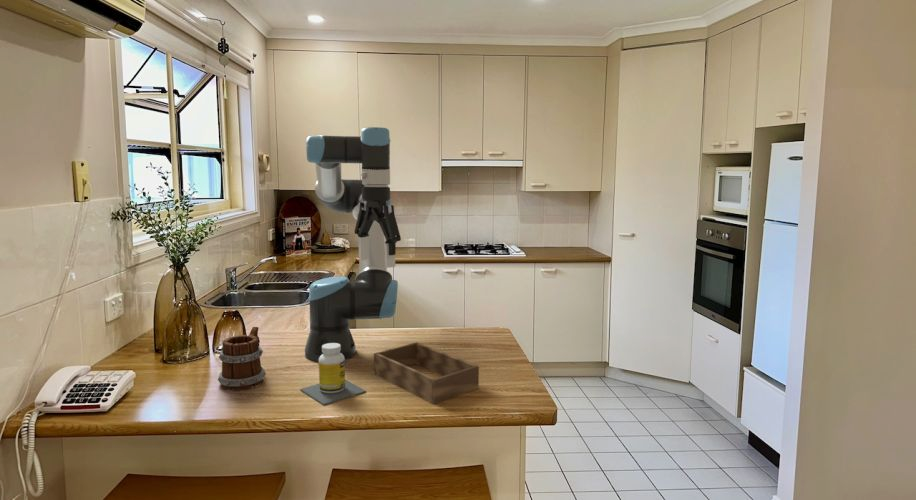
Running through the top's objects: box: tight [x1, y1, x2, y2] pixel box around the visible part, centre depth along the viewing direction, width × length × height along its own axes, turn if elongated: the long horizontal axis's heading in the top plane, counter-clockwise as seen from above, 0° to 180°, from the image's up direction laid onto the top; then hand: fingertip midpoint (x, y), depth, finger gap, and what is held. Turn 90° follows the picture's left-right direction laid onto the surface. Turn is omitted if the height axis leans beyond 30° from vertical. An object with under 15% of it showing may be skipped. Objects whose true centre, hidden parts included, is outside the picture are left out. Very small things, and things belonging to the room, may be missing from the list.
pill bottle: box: [318, 343, 346, 393], centre depth 141 cm, size 6×6×12 cm
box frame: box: [373, 341, 480, 405], centre depth 148 cm, size 26×15×6 cm, turn 42°
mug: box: [217, 326, 267, 391], centre depth 147 cm, size 12×14×15 cm
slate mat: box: [299, 379, 367, 406], centre depth 141 cm, size 12×12×1 cm
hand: (376, 263), depth 152 cm, fingers open, 13 cm apart
